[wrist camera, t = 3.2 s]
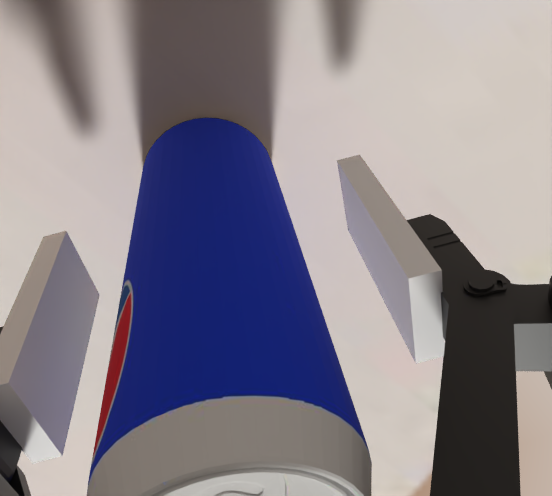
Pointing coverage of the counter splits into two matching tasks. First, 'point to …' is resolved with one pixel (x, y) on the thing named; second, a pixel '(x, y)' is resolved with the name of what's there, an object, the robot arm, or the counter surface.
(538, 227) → the counter surface
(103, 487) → the beverage can
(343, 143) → the counter surface
